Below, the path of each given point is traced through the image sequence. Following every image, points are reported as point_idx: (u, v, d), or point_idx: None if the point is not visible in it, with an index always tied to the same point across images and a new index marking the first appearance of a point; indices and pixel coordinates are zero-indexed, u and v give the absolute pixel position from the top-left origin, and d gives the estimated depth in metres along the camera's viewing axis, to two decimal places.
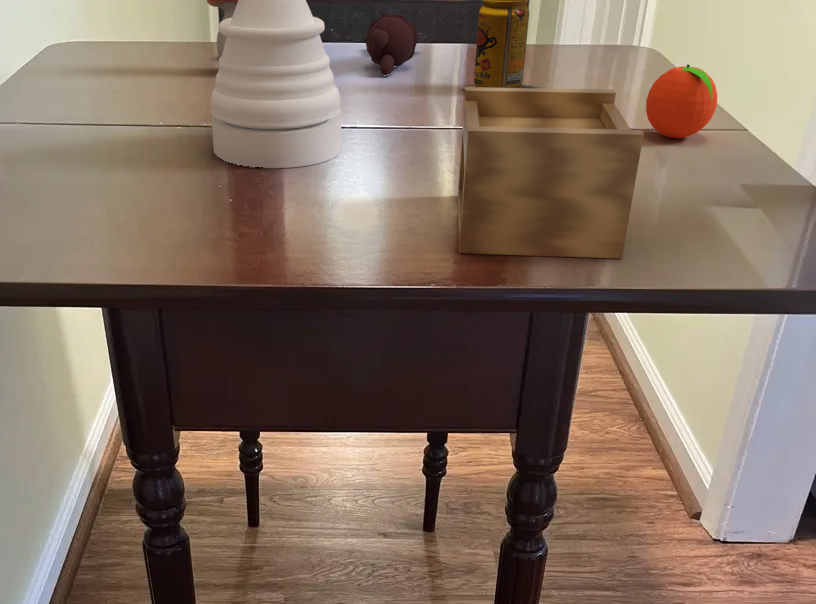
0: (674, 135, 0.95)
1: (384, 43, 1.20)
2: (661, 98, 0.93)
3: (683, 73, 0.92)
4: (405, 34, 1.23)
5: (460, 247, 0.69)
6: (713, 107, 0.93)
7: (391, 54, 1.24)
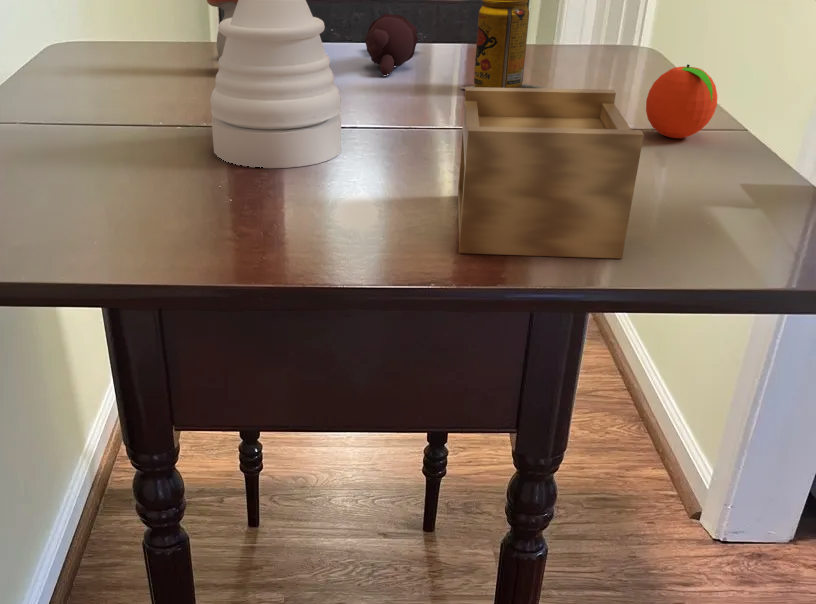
0: (674, 135, 0.95)
1: (384, 43, 1.20)
2: (661, 98, 0.93)
3: (683, 73, 0.92)
4: (405, 34, 1.23)
5: (460, 247, 0.69)
6: (713, 107, 0.93)
7: (391, 54, 1.24)
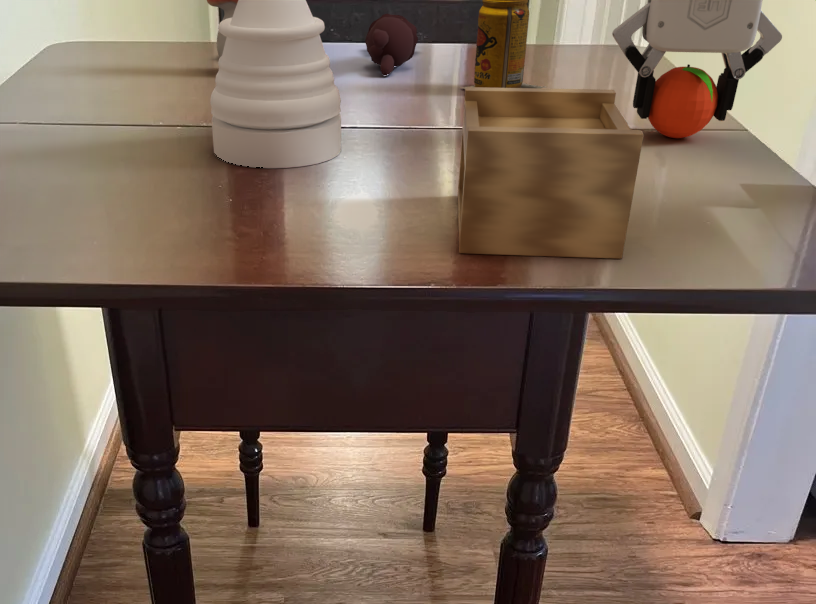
0: (674, 135, 0.95)
1: (384, 43, 1.20)
2: (661, 98, 0.93)
3: (683, 73, 0.92)
4: (405, 34, 1.23)
5: (460, 247, 0.69)
6: (713, 107, 0.93)
7: (391, 54, 1.24)
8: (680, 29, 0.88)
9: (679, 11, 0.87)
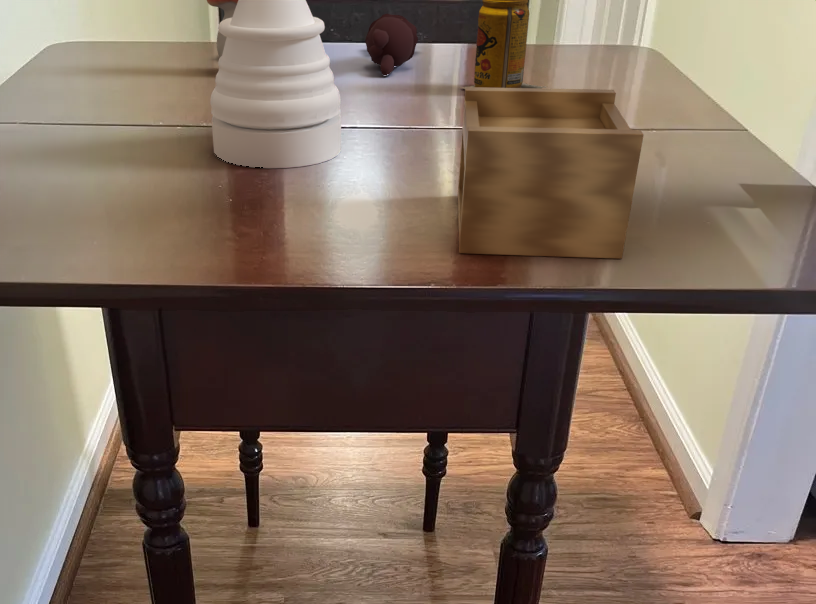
0: None
1: (384, 43, 1.20)
2: None
3: None
4: (405, 34, 1.23)
5: (460, 247, 0.69)
6: None
7: (391, 54, 1.24)
8: None
9: None
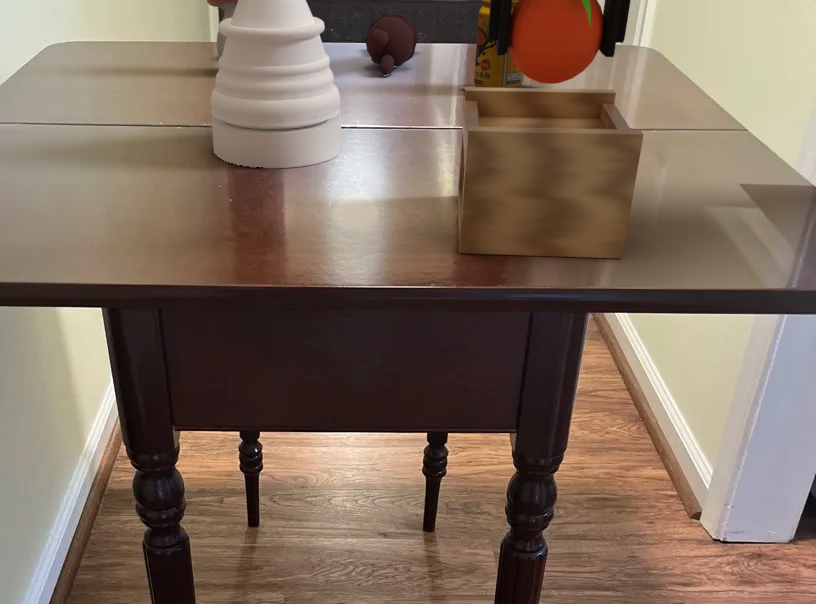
0: (545, 78, 0.67)
1: (384, 43, 1.20)
2: (522, 24, 0.65)
3: None
4: (405, 34, 1.23)
5: (460, 247, 0.69)
6: (596, 36, 0.65)
7: (391, 54, 1.24)
8: None
9: None
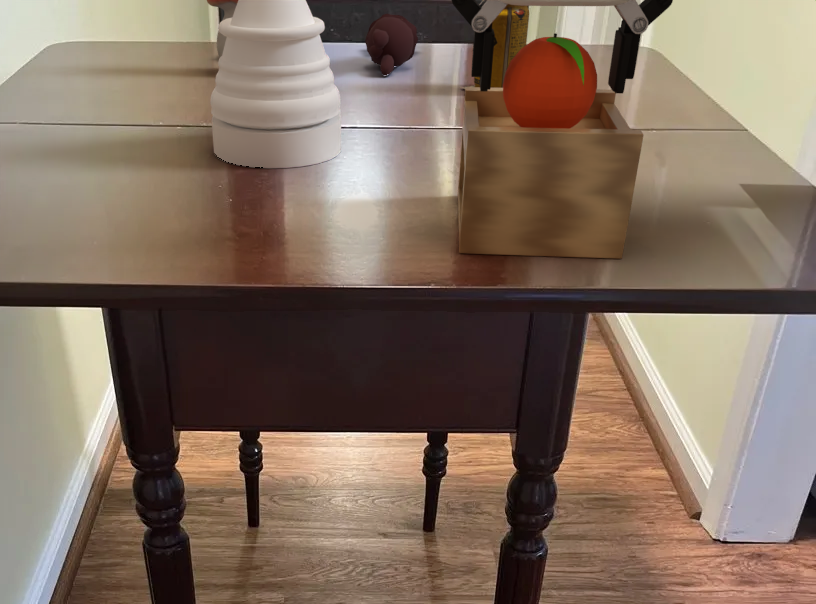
0: None
1: (384, 43, 1.20)
2: (518, 80, 0.67)
3: (546, 45, 0.66)
4: (405, 34, 1.23)
5: (460, 247, 0.69)
6: (590, 92, 0.67)
7: (391, 54, 1.24)
8: None
9: None
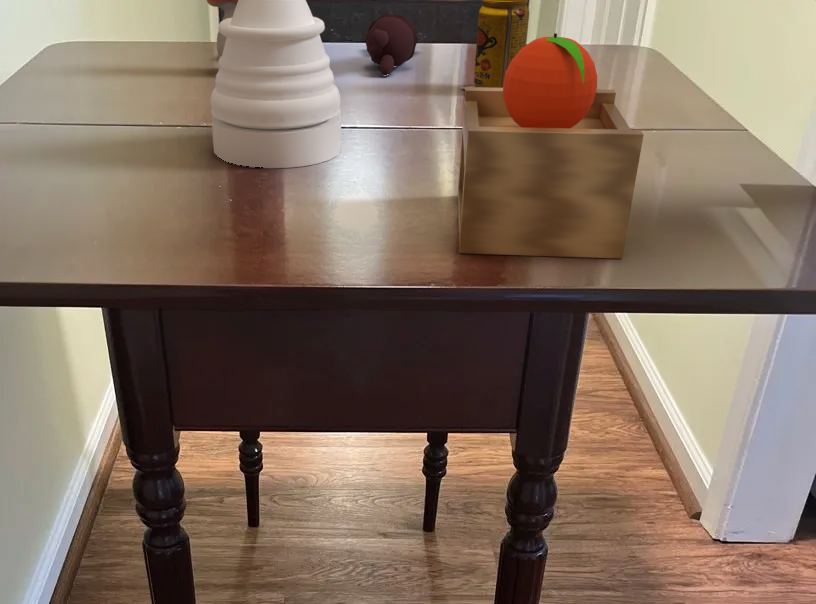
0: None
1: (384, 43, 1.20)
2: (518, 80, 0.67)
3: (546, 45, 0.66)
4: (405, 34, 1.23)
5: (460, 247, 0.69)
6: (590, 92, 0.67)
7: (391, 54, 1.24)
8: None
9: None
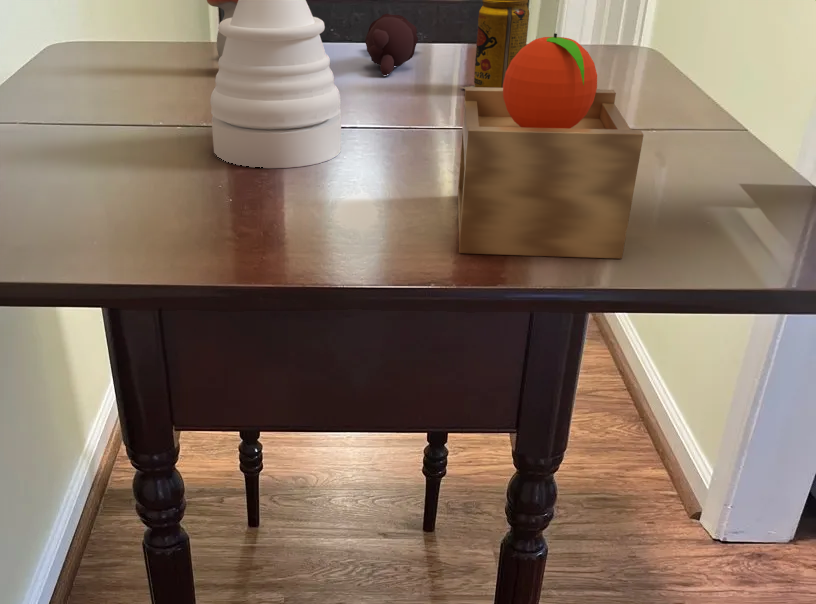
0: None
1: (384, 43, 1.20)
2: (518, 80, 0.67)
3: (546, 45, 0.66)
4: (405, 34, 1.23)
5: (460, 247, 0.69)
6: (590, 92, 0.67)
7: (391, 54, 1.24)
8: None
9: None
